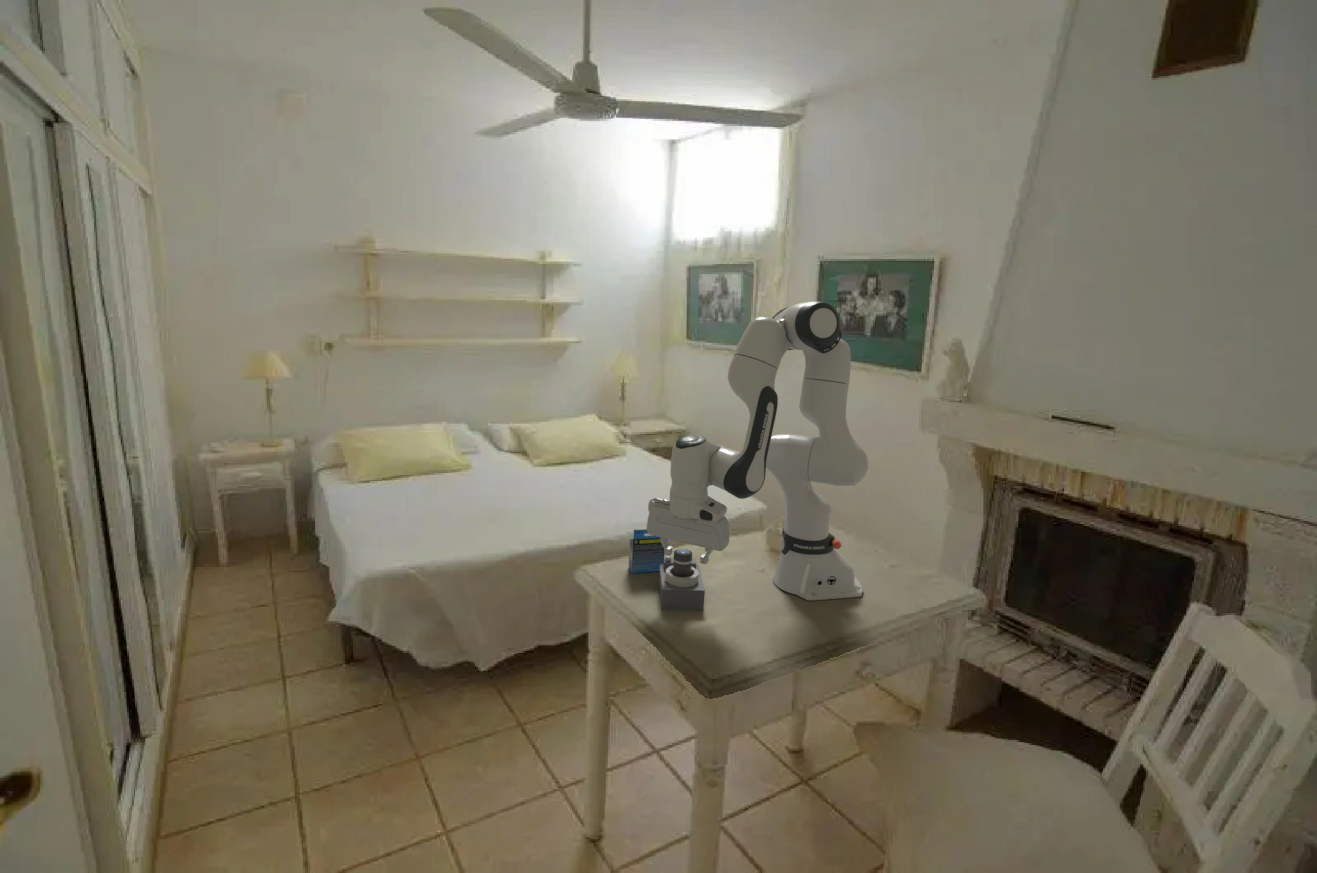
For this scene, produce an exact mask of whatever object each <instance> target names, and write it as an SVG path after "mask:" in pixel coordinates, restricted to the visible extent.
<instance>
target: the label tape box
mask: <svg viewBox="0 0 1317 873" xmlns="http://www.w3.org/2000/svg"><path fill="white" fill-rule="evenodd" d="M647 534H649V533H648V532H647V528H645V529H642V528H641V529H633V538H629V551H628V569H629V571H630V573H631V574H642V573H643V574H644V573H654V572H655V573H656V572H659V564H664V558H665V557H666V555H665V554H664V547H663V545H662V544H661V542H660V537H657V536H653V535H647Z"/></svg>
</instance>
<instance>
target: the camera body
mask: <svg viewBox="0 0 1317 873" xmlns="http://www.w3.org/2000/svg"><path fill="white" fill-rule="evenodd" d="M658 588H659V589H658V591H659V600H660V609H661V610H683V611H685V610H688V611H689V610H690V611H691V610H692V611H693V610H694V611H704V606H705V594H706V591H705V586H704V581H703V577H702V574H701V568H700V565H699V564H697V560H696V558H693V557H692V567H691V576H690V577H678V576H674V575H673V557H672V556H671V555H665V556H664V564H659V571H658Z"/></svg>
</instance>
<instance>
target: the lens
mask: <svg viewBox="0 0 1317 873" xmlns="http://www.w3.org/2000/svg"><path fill="white" fill-rule="evenodd" d="M672 558H673V575H674V576H678V577H690V576H691V567H692V558H693V551H691V550H690V549H687V548H677V549H675V550H674V551H673V557H672Z"/></svg>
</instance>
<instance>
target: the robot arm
mask: <svg viewBox="0 0 1317 873" xmlns="http://www.w3.org/2000/svg"><path fill="white" fill-rule="evenodd" d="M795 350H797V351H798V350H799V351H802V354H803V355H804V362H805V367H804V372H803V379H802V385H801V392H800V398H799V405H798V407H799V411H800V414H802V416H803V417H804V418H805V419H807V420H808V421H809V422H811V423H812V424H814V425H815V426H816V427H817V429H818V431H819V432H818V433H819V435H818V436H819V437H818V436H817V437H816V436H811V435H810V436H808V435H801V434H795V433H779V434H773V431H774V425H775V422H776V416H777V411H778V406H779V405H778V404H779V403H778V402H779V398H778V393H777V392H776V390H775V383H776V376H777V373H778V370H779V367H780V365H781V362H782V361H781V360H782V358H783V356H784V355H785V353H786V352H787V351H795ZM851 357H852V356H851V347H850V345H849V343H848V342H847V341H845V340H844V339H842V330H841V320H840V317H839V314H838V312H837V310H836V308H834V306H833V305H831V304H829V303H827V302H825V301H820V300H812V301H805V302H804V301H803V302H799V303H796V304H793V305H791V306H789V307H784V308H782V309H780V310H779V311H778V312H776V313H775V314H774V315H773V316H772V317H768V316H761V317H760V316H759V317H756V318H753V319H752V320H751V321H750V322H749V323H748V325H747V327H746V329H745V330H744V332H743V334H742V336H741V338H740V339H739V341H738V343H737V346H736V348H735V351H734V354H733V356H732V358H731V361H730V364H729V367H728V374H727V380H728V384H729V386H730V388H731V390H732V392H733V393H734V394H735V395H736V396H737V397H738V398H739V399H740V400H741V401H742V402H743V403H744V404H745V405H746V407H747V409H748V413H749V420H748V426H747V430H746V435H745V439H744V443H743V447H742V450H741V451H738V450H735V449H732V448H730V447H728V446H726V445H723V444H719V443H714V442H712V441H710V440H709V439H708V438H706V437H705V436H704V435H700V434H687V435H684V436H681V437H680V438H678V439H677V440H676V441H675V443H674V445H673V447H672V450H671V451H672V452H671V458H670V478H671V485H670V489H669V499H663V498H659V497H654V498H652V499H650V500H649V502H648V508H647V509H648V510H647V511H648V516H647V521H646V529H647V532H648V534H649V535H648V536H657V537H660V542H661V544H662V545H663V547H664V554H665V556H671V555H672V554H673V553H674V551H673V548H674V547H673V546H671V545H670V543H669V541H668V540H671V541H675V542H679V543H683V544H686V545H687V544H688V545H693V546H697V547H700V548H704V552H706V553H703V554H701V555H700V558H699V563H700V564H702V565H703V564H704V565H707V564H708V563H709V560H710V559H709V558H710V557H709V556H710V555H711V554H712V552H713V551H717V552H722V551H724V550H725V549H726V548H727V547H728V545H729V543H730V525H729V524H730V523H729V520H728V518H727V517H726V516H725V515H726V514H727V511H728V507H727V506H726V505H725V504H723V502H722V503H721V502H720V501H717V500H715V499H714V498H713V497H711V496H709V495H708V487H710V486H713V487H717V488H719V489H720V490H721V489H722V490H723V491H726V492H727V493H729V494H731V495H732V496H734V497H736V498H738V499H741V500H743V499H747V498H751V497H752V496H754V495H755V494H757V493H758V492H760V490H761V489H762V488H763V486H764V484H765V480H766V474H767V473H766V472H767V471H768V472H769V473H770V474H772V475H773V477H774V478H775V479H776V480H777V482H778V484H779V486H780V488H781V490H782V492H783V497H784V502H785V503H784V504H785V507H784V508H785V510H784V511H785V512H784V514H785V517H784V527H783V528H782V531H781V536H780V547H779V548H780V556H779V560H778V564H777V568H776V570H775V572H774V575H773V577H772V581H773V583H774V585H775V586H776V587H777V588H779V589H780V590H782V591H784V592H787V593H790V594H792V595H796V596H799V597H800V598H802V599H804V600H806V601H820V600H821V601H822V600H833V599H837V600H838V599H848V598H859V597H862V595H863V586H862V584H861V582H860V581H859V579H858V578H857V577H856V576H855V572H854V568H853V566H852V563H851V562H850V561H849V559H847V557H846V556H844V555H843V554H842V553H841V552H840V551H839V550H840V548H842V543H841V541H840V540H839V539H838V538H836V537H835V536H834V535H833V534H832V533H830V524H831V517H832V516H831V514H832V507H831V505H830V503H829V501H828V500H827V499H826V497H824V496H823V495H821V493H819V492H817V491H816V490H815V489H814V487H813V485H812V483H811V482H813V483H819V484H824V485H829V486H835V487H838V486H840V487H850V486H853V487H855V486H857V485H859V484H860V483H861V482H862V481H863V479H864V478H866V476H867V472H868V468H869V460H868V456H867V454H866V451H865V450H864V449H863V447H861V445H860V444H859V443H858V442H857V441H856V440H855V439H854V437H853V436H852V433H851V432H850V429H849V426H848V422H847V402H848V394H849V393H848V391H849V385H850V380H851V379H850V378H851V366H852V365H851V364H852V360H851V359H852V358H851ZM766 470H767V471H766Z"/></svg>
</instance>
